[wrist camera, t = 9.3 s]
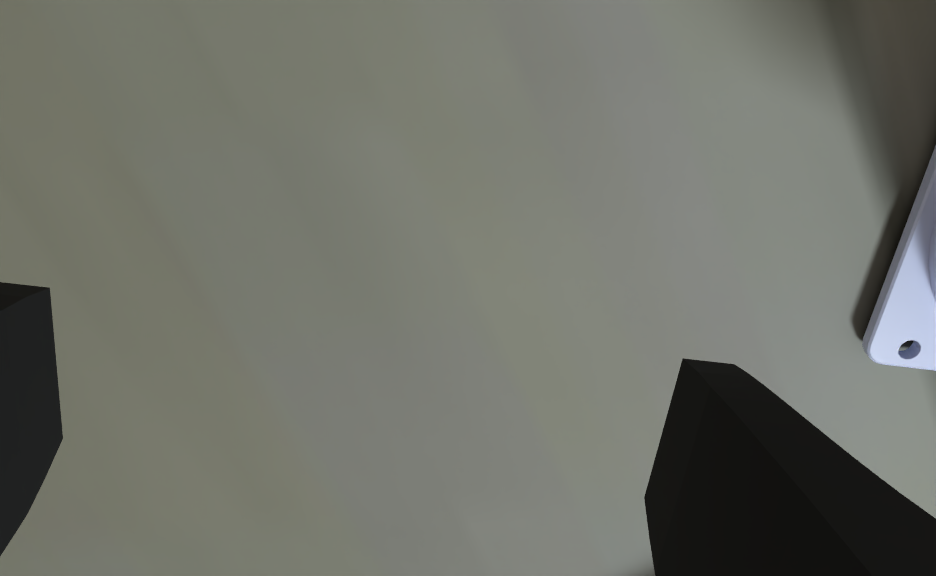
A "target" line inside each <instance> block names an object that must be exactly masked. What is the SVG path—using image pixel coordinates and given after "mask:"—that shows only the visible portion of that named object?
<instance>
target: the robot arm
mask: <svg viewBox="0 0 936 576" xmlns="http://www.w3.org/2000/svg"><path fill="white" fill-rule="evenodd" d="M910 340H913V344H912V345H911V346H910V348H908V349H906V350H904V351H899V347H900V346H901V345H902V344H903V343H905V342H906V341H910ZM862 345H863V348H864V351H865V352H866V354H867V355H868V356H869V358H871V359H872V360H873V361H874V362H876V363H879V364H884V365H892V366H901V367H910V368H918V369H927V370H935V371H936V146H935V149H934V151H933V154H932V157H931V159H930V162H929V165H928V167H927V170H926V172H925V175H924V178H923V180H922V183H921V186H920V188H919V191H918V194H917V196H916V199H915V202H914V204H913V207H912V210H911V212H910V215H909V218H908V220H907V223H906V226H905V228H904V231H903V234H902V236H901V239H900V242H899V244H898V247H897V250H896V252H895V255H894V257H893V260H892V263H891V265H890V268H889V271H888V273H887V276H886V279H885V281H884V284H883V287H882V289H881V292H880V295H879V297H878V300H877V303H876V305H875V308H874V311H873V313H872V316H871V319H870V321H869V324H868V327H867V329H866V332H865V335H864V337H863V343H862ZM62 439H63V435H62V423H61V412H60V401H59V389H58V378H57V366H56V355H55V343H54V332H53V320H52V309H51V297H50V288H47V287H38V286H29V285H20V284H11V283H2V282H0V556H1V554H2V553H3V551H4V550H5V548H6V547H7V545H8V543H9V542H10V540H11V539H12V537H13V536H14V534H15V533H16V531H17V530H18V528H19V526H20V525H21V523H22V522H23V520H24V518H25V517H26V515H27V514H28V512H29V510H30V508H31V506H32V504H33V502H34V500H35V498H36V495H37V493H38V491H39V489H40V487H41V485H42V483H43V481H44V479H45V477H46V475H47V473H48V470H49V468H50V466H51V464H52V461H53V459H54V457H55V455H56V452H57V450H58V448H59V446H60V444H61V441H62ZM644 499H645V506H646V514H647V522H648V530H649V538H650V544H651V551H652V557H653V564H654V570H655V575H656V576H936V519H935V518H934V517H933V516H931V515H930V514H928V513H927V512H926V511H924V510H923V509H921V508H920V507H919V506H917V505H916V504H915V503H913V502H912V501H910V500H909V499H908V498H906V497H905V496H903V495H902V494H901V493H899V492H898V491H897V490H895V489H894V488H893V487H891V486H890V485H889V484H887V483H886V482H885V481H883V480H882V479H881V478H879V477H878V476H877V475H876V474H874V473H873V472H872V471H870V470H869V469H868V468H866V467H865V466H864V465H863V464H861V463H860V462H859V461H858V460H856V459H855V458H854V457H852V456H851V455H850V454H849V453H847V452H846V451H845V450H844V449H842V448H841V447H840V446H839V445H837V444H836V443H835V442H834V441H832V440H831V439H830V438H829V437H827V436H826V435H825V434H824V433H823V432H821V431H820V430H819V429H818V428H816V427H815V426H814V425H813V424H811V423H810V422H809V421H808V420H807V419H805V418H804V417H803V416H802V415H800V414H799V413H798V412H797V411H795V410H794V409H793V408H792V407H791V406H789V405H788V404H787V403H786V402H784V401H783V400H782V399H781V398H779V397H778V396H777V395H776V394H774V393H773V392H772V391H771V390H769V389H768V388H767V387H766V386H764V385H763V384H762V383H760V382H759V381H758V380H756V379H755V378H754V377H752V376H751V375H750V374H748V373H747V372H745V371H744V370H742V369H741V368H739V367H738V366H736V365H734V364H727V363H718V362H709V361H700V360H691V359H683V360H682V363H681V367H680V370H679V374H678V378H677V381H676V385H675V389H674V392H673V396H672V399H671V403H670V407H669V410H668V414H667V418H666V421H665V425H664V428H663V432H662V436H661V439H660V443H659V447H658V450H657V454H656V457H655V461H654V465H653V468H652V472H651V475H650V479H649V483H648V486H647V490H646V494H645V497H644Z"/></svg>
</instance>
